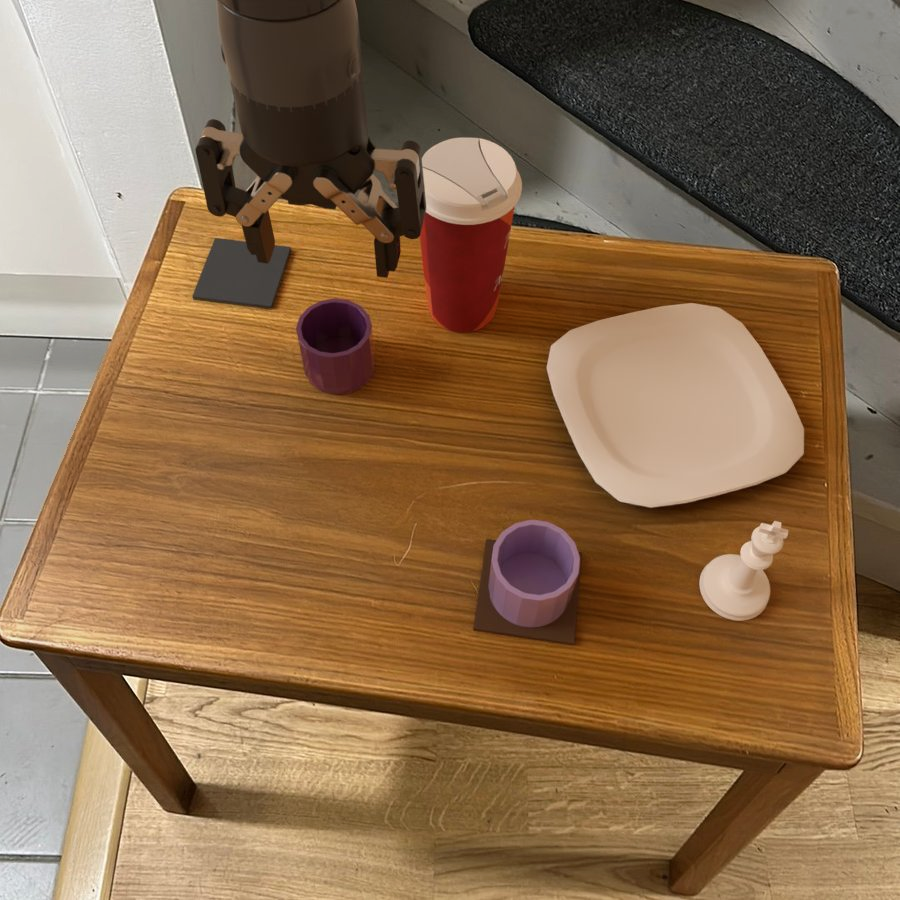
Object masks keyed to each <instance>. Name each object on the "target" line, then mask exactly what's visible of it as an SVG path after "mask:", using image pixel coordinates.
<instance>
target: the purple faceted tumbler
mask: <svg viewBox="0 0 900 900" xmlns="http://www.w3.org/2000/svg"><path fill="white" fill-rule="evenodd" d="M295 331H296V337H297V341H298V346H299V351H300V355H301V356H300V357H301V362H302V365H303V371H304V374H305V377H306V380H307V381H308V382H309V383H310V384H311V385H312V386H313V387H314V388H315V389H317V390H318V391H321V392H323V393H326V394H330V395H344V394H345V395H346V394H350V393H353V392H356V391H358V390H359V389H361V388H362V387H364V386H365V385H366V384H368V382H369V381H370V379H372V377H373V375H374V372H375V368H376V355H375V345H374V343H375V342H374V333H373V332H374V331H373V325H372V320H371V317H370V314H368V312H367V311H366V310H365V309H364V307H363V306H362V305H360V304H358V303H356V302H354V301H352V300H350V299H343V298H337V297H336V298H329V299H323V300H322V299H321V300H319V301H317V302H316V303H314V304H311V305H310V306H308V307H307V308H306V309H305V310H304V311H303V312H302V314H300V315H299V316H298V319H297V323H296V327H295Z"/></svg>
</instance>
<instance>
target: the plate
mask: <svg viewBox="0 0 900 900" xmlns="http://www.w3.org/2000/svg"><path fill="white" fill-rule="evenodd" d="M549 348H550V349H549V354H548V357H547V364H546V374H547V377H548V382H549V385H550V388H551V389H550V390H551V393H552V396H553V399H554V401H555V403H556V404H555V405H556V406H557V408H558V411H559V414H560V416H561V418H562V421H563V423H564V426H565V428H566V430H567V432H568V435H569V438H570V439H571V442H572V444H573V447H574V448H575V451H576V453H577V455H578V457H579V458H580V460H581V462H582V463H583V465H584V467H585V469H586V470H587V472H588V474H589V475H590V477H591V479H592V480H593V482H594V483H595V484H596V485H597V486H598V487H599V488H601V490H603V491H604V492H605V493H606V494H608V495H609V496H610V497H611V498H613V499H614V500H615V501H616V502H618V503H620V504H625V505H631V506H635V507H641V508H644V509H645V508H646V509H649V510H651V509H659V508H665V507H666V508H667V507H672V506H679V505H680V506H681V505H687V504H690V503H691V504H692V503H695V502H699V501H704V500H707V499H712V498H716V497H719V496H723V495H727V494H731V493H734V492H738V491H741V490H744V489H749V488H753V487H755V486H756V487H757V486H758V485H761V484H763V483H766V482H769V481H770V480H773V479H776V478H778V477H781V476H783V475H786V473H787V472H788V471H790V469H791V468H792V467H793V466H794V465H795V464H796V463H797V462H798V461H799V460H800V459H801V458H802V457H803V456H804V454H805V427H804V425H803V423H802V421H801V418H800V416H799V414H798V411H797V409H796V407H795V404H794V402H793V400H792V398H791V396H790V394H789V392H788V391H787V389H786V387H785V386H784V384H783V382H782V381H781V379H780V376H779V375H778V373H777V371H776V370H775V368H774V366H773V365H772V363H771V362H770V360H769V358H768V357H767V354H765V352H764V350H763V349H762V346H761V345H760V344H759V343H758V342H757V340H756V339H755V338H754V336H753V335H752V333H750V331H749V330H748V329H747V327H746V326H745V324H744V323H743V322H742V321H740V320H738V319H737V318H735V316H733V315H731V314H730V313H728V312H727V311H725V310H724V309H722V308H721V307H720V306H719V307H718V306H712V305H706V304H700V303H694V302H688V303H679V304H670V305H662V306H661V305H660V306H656V307H652V308H646V309H642V310H638V311H633V312H632V311H631V312H628V313H624V314H620V315H619V314H618V315H616V316H611V317H606V318H602V319H598V320H596V321H592V322H589V323H587V324H584V325H581V326H577V327H575V328H572V329H569V330H568V331H567V332H566V333H565V334H564V335H562V336H561V337H560V338H559V339H557V340H556V341H554V342H553V343H552V344H551V345H550V347H549Z"/></svg>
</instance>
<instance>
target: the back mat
mask: <svg viewBox="0 0 900 900" xmlns="http://www.w3.org/2000/svg"><path fill="white" fill-rule="evenodd" d="M291 252H292V247H291V246H285V245H277V244H275V247H274V250H273V253H272V256H271V259H270V262H269V263H268V264H267V263H259V262H258V261H257V257H256V255H252V254H251V253H250V252H249V250H248V249H247V245H246V241H245V240H235V239H227V238H218V237H214V239H213V242H212V245H211V247H210V249H209V251H208V254H207V256H206V257H207V258H206V260H205V263H204V265H203V267H202V270H201V273H200V274H199V277H198V280H197V283H196V285H195V288H194V291H193V292H192V295H191V296H192V299H193V300H196V301H197V300H198V301H204V302H213V303H220V304H229V305H237V306H244V307H253V308H261V309H269V310H273V308H274V304H275V301H276V298H277V295H278V292H279V289H280V286H281V283H282V280H283V277H284V274H285V271H286V267H287V266H288V265H287V264H288V262H289V259H290V256H291Z"/></svg>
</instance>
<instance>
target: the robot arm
mask: <svg viewBox="0 0 900 900" xmlns="http://www.w3.org/2000/svg"><path fill="white" fill-rule="evenodd" d="M215 3H216V17H217V18H216V19H217V26H218V34H219V39H220V51H221V57H222V61H223V63H224V64H225V67H226V70H227V75H228V78H229V84H230V88H231V92H232V96H233V102H234V105H235V110H236V114H237V118H238V124H239V127H240V132H241V133H239V132H234V131H228V130H227V129H226V126H225V125H224V123H223V122H222V121H220V120H218V119H216V118H212V119H211V118H210V119H209V120H207V122H206V124H205V126H204V128H203V130H202V132H201V135H200V137H199V139H198V142H197V144H196V147H195V155H196V160H197V165H198V169H199V174H200V175H199V176H200V179H201V184H202V189H203V194H204V198H205V203H206V207H207V210H208V213H210V214H211V215H213V216H214V217H224V216H225V215H229V216H231V217H234V218H235V220H236V222H237V223H238V225H241V229H242V232H243V237H244V241H245V242H246V245H247V249H248V250H249V252H250V253H251V254H252V255H256V257H257V261H258V262H259V263H267V264H268V263H269V262H270V259H271V256H272V253H273V250H274V247H275V245H276V240H275V239H276V238H275V235H274V229H273V225H272V220H271V216H270V209H271V208H272V206H274V204H275V203H276V202H277V201H278V200H279V199H280V198H281V199H284V200H285V201H287V203H288V205H293V206H309V205H312V206H316V207H317V208H321V209H327V210H337V208H338V209H339V210H340V211H341V212H342V213H343V214H344V215H345V216H346V217H347V218H349V220H350V221H351V222H352V223H353V224H355V225H356V226H359V225H362V226H363V227H364V228H365V229H366V230H367V231H368V232H370V234H371V235H372V236H374V240H373V245H374V246H373V247H374V257H375V258H374V259H375V270H376V277H378V278H385V279H386V278H387V279H388V277H389V275H390V274H389V273H390V272H393V273H395V272H396V270H397V268H398V265H399V261H400V257H401V252H402V249H401V248H402V247H401V237H403V236H404V237H405V238H407V239H409V240H416V239H418V238H420V233H421V229H422V225H423V221H424V216H425V212H426V198H425V188H424V177H423V167H422V157H423V156H422V149H421V148H422V147H421V145H420V144H419V143H418V142H416V141H414V140H406V141H404V142H403V143H402V144H401V146H400V147H401V148H400V149H387V148H377V146H376V145H375V143H374V142H373V141H372V139H371V138H370V135H369V129H368V117H367V104H366V94H365V93H366V92H365V91H366V90H365V79H364V71H363V70H364V68H363V59H362V57H363V56H362V45H361V44H362V43H361V33H360V23H359V15H358V9H357V5H356V0H215ZM237 156H240V158H241V159H242V161H243V163H245V165H246V166H247V167H248V168H249V169H250V170H251V171H253V173H255V174H256V177H255V179H254V180H252V182H251V184H249V186H248V187H247V188H246V190H244V189H242V188H239V187H236V182H235V181H236V180H235V177H234V176H235V175H234V170H233V164H234V161H235V158H236V157H237ZM375 171H376V172H378V173H379V172H380V173H381V174H383V176H384V177H385V180H386V182H387V183H388V184H389V185H388V187H389V189H391V190H396V196H397V203H398V205H396V203H395V202H394V201H392V200H393V199H391V198H390V197H389V196H388V195H387V194H386V193H385V191H384V189H383V186H382V183H381V181H380V180H379V179H378V178H377V176H376V175H375V174H374V172H375ZM357 192H358V194H357V197H356V195H355V194H356V193H357Z"/></svg>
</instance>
